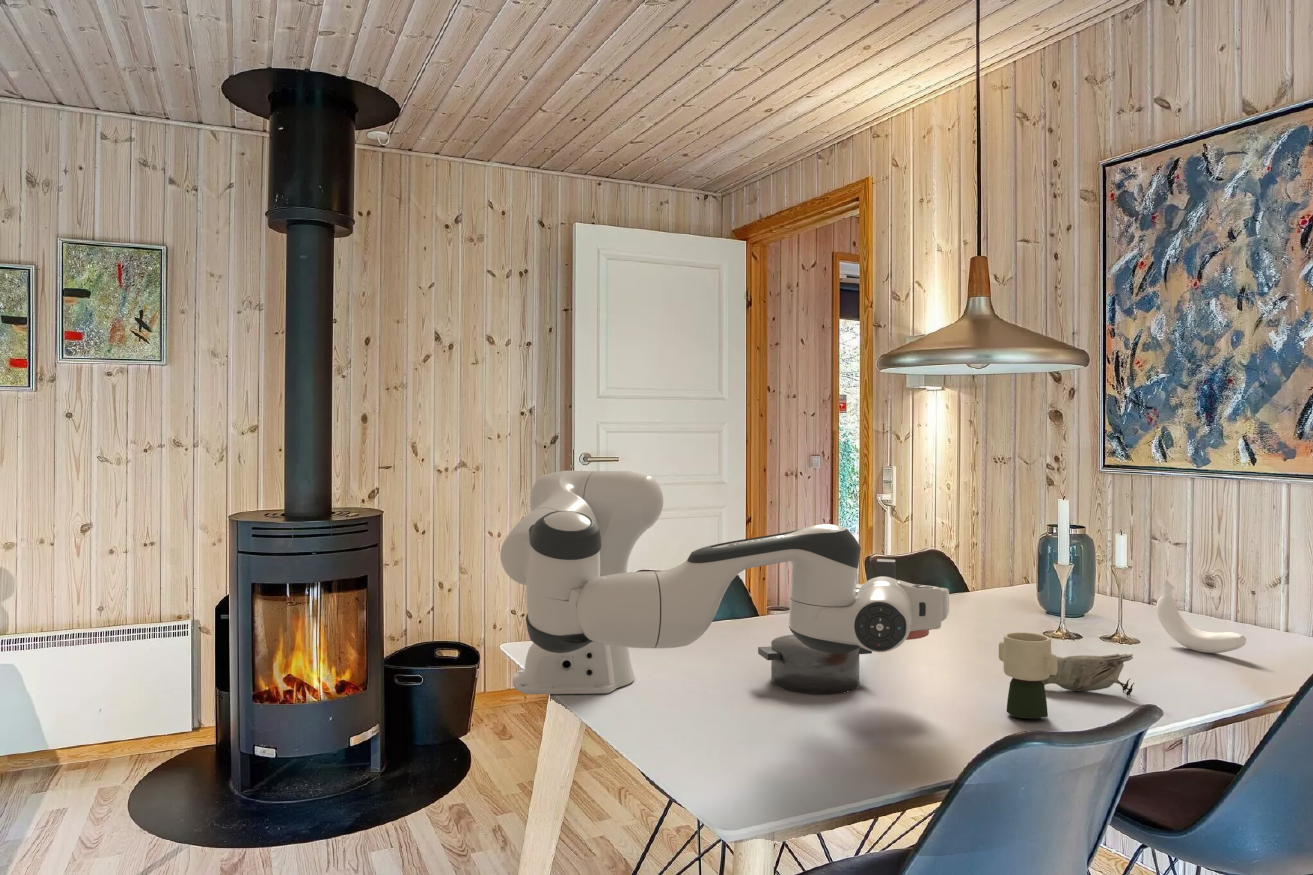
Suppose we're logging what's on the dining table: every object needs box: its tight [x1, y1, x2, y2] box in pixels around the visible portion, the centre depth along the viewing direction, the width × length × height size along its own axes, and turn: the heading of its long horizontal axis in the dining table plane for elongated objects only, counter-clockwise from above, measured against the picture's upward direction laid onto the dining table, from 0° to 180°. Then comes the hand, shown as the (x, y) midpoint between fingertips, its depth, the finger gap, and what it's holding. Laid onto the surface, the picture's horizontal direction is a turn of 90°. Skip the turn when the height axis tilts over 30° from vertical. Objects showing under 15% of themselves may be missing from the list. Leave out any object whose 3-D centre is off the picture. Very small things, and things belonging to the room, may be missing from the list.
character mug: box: [998, 631, 1058, 721], centre depth 143 cm, size 11×7×13 cm, turn 29°
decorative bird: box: [1041, 653, 1135, 698], centre depth 157 cm, size 5×16×7 cm, turn 75°
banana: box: [1155, 577, 1247, 654], centre depth 185 cm, size 5×19×15 cm, turn 28°
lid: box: [876, 558, 930, 641], centre depth 151 cm, size 14×14×12 cm
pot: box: [757, 634, 873, 696], centre depth 163 cm, size 20×16×7 cm
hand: (886, 590), depth 152 cm, fingers closed on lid, 3 cm apart
